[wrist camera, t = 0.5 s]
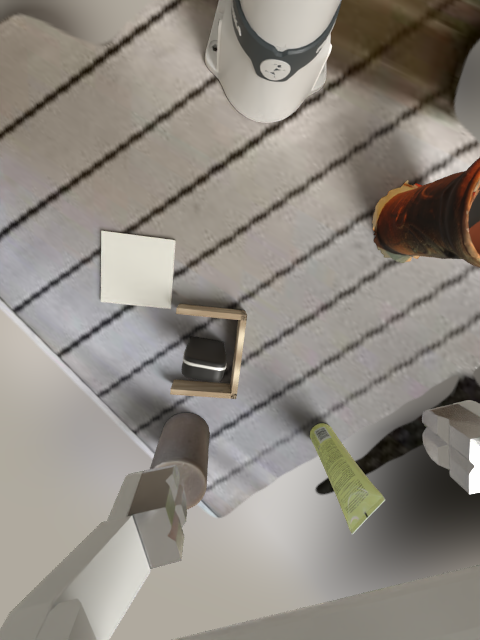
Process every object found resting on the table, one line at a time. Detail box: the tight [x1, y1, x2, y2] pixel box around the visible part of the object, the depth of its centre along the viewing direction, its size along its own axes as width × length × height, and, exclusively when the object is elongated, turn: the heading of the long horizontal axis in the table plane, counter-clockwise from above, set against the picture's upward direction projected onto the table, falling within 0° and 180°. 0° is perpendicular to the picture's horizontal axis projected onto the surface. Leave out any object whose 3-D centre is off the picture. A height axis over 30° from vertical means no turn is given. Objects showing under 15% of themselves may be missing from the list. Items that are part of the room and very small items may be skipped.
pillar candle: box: [150, 413, 210, 509], centre depth 50 cm, size 10×10×15 cm
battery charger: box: [182, 336, 227, 383], centre depth 47 cm, size 7×4×11 cm, turn 77°
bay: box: [170, 304, 247, 399], centre depth 51 cm, size 16×12×4 cm
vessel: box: [372, 158, 480, 268], centre depth 41 cm, size 14×14×20 cm
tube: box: [310, 423, 385, 534], centre depth 50 cm, size 6×5×20 cm
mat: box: [101, 231, 175, 309], centre depth 48 cm, size 12×12×1 cm
